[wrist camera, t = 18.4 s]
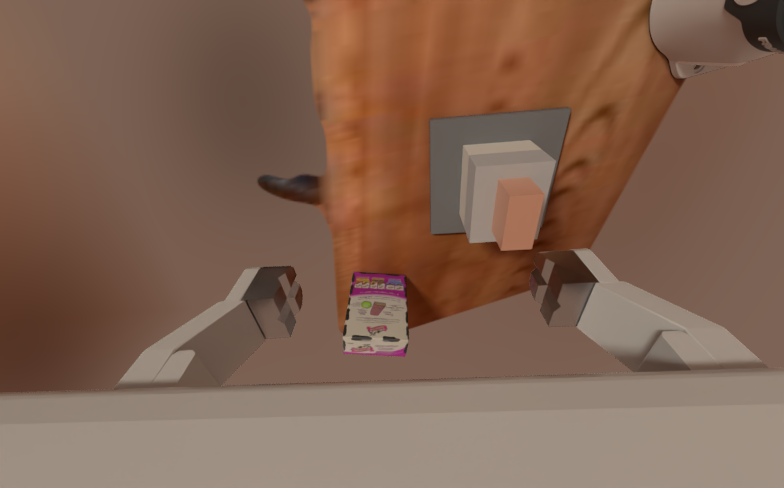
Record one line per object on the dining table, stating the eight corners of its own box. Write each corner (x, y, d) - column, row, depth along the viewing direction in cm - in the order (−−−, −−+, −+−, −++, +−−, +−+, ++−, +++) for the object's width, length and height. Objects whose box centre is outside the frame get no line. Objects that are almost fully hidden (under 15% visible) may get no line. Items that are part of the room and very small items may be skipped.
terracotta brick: (529, 177, 39) (544, 194, 35) (519, 228, 43) (531, 249, 39) (498, 179, 39) (509, 196, 35) (491, 230, 43) (501, 250, 39)
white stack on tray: (567, 107, 43) (607, 124, 35) (539, 224, 54) (564, 258, 46) (429, 118, 44) (436, 138, 36) (430, 231, 56) (436, 265, 47)
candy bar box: (352, 288, 64) (341, 354, 51) (353, 270, 62) (341, 336, 48) (404, 291, 65) (406, 358, 51) (406, 274, 62) (409, 340, 49)
